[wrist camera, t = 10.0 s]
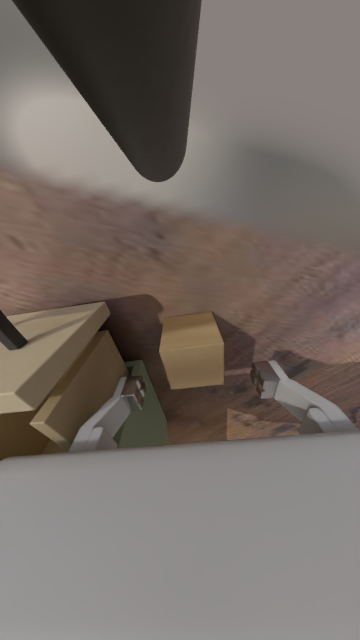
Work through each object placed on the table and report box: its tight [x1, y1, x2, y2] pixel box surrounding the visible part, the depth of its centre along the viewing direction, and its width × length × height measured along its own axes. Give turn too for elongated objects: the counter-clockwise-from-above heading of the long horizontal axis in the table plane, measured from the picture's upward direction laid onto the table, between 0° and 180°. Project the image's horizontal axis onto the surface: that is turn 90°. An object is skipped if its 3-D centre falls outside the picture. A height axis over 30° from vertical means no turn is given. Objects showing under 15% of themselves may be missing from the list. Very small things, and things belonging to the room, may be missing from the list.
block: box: [159, 312, 224, 390], centre depth 13 cm, size 4×4×4 cm
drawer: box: [0, 302, 131, 461], centre depth 11 cm, size 18×11×8 cm, turn 9°
